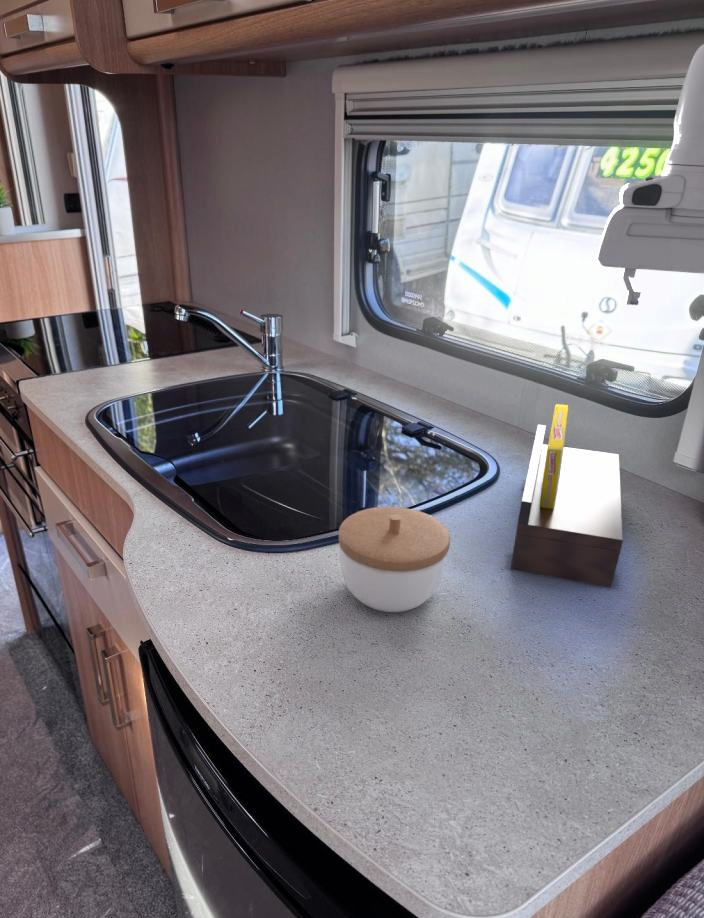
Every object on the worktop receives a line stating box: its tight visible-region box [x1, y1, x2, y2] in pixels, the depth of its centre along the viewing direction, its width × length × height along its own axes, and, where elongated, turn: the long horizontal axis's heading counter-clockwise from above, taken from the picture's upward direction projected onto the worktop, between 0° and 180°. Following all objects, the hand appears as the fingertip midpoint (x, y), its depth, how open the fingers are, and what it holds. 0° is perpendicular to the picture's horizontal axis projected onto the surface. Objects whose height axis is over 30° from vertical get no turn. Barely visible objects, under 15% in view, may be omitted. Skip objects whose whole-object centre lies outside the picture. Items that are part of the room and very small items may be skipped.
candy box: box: [540, 403, 569, 509], centre depth 95 cm, size 16×2×8 cm, turn 161°
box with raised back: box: [509, 424, 624, 588], centre depth 98 cm, size 12×26×10 cm, turn 161°
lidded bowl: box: [338, 506, 451, 613], centre depth 84 cm, size 13×13×11 cm
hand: (670, 307), depth 94 cm, fingers open, 8 cm apart
